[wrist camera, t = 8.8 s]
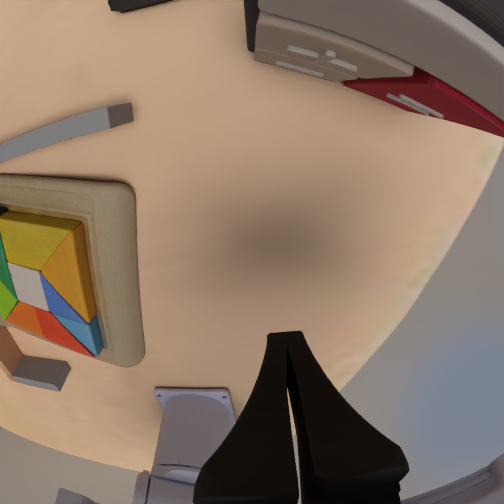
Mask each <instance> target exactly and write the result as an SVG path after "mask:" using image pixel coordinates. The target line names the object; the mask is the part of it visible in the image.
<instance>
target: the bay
mask: <svg viewBox="0 0 504 504" xmlns="http://www.w3.org/2000/svg"><path fill="white" fill-rule="evenodd" d="M132 121H133V116H132V108H131V103H128V104H121V105H115V106H108V107H104V108H100V109H97V110H93V111H90V112H86V113H83V114H80V115H77V116H73V117H70V118H67V119H64V120H61V121H58V122H55V123H52V124H50V125H47V126H44V127H41V128H39V129H36V130H33V131H31V132H28V133H26V134H23V135H21V136H18V137H16V138H13V139H11V140H9V141H6V142H4V143H2V144H0V163H1V162H4V161H6V160H9V159H11V158H14V157H17V156H19V155H22V154H25V153H28V152H31V151H33V150H36V149H39V148H42V147H45V146H48V145H52V144H55V143H58V142H61V141H65V140H68V139H71V138H75V137H78V136H82V135H86V134H89V133H93V132H97V131H101V130H105V129H109V128H113V127H116V126H119V125H122V124H125V123H129V122H132ZM0 367H1V368H2V369H3V371H4V372H5V374H6V375H7V376H8V378H9V379H10V380H11V381H15V382H19V383H23V384H27V385H31V386H35V387H40V388H44V389H49V390H54V391H59V392H60V391H61V389H62V386H63V384H64V382H65V380H66V378H67V376H68V374H69V372H70V370H71V368H70V367H69V365H68V363H67V362H65V361H57V360H50V359H43V358H36V357H30V356H24V355H23V354H22V353H21V351H20V350H19V348H18V346H17V345H16V343H15V342H14V340H13V338H12V337H11V335H10V334H9V332H8V330H7V328H6V327H5V326H0Z"/></svg>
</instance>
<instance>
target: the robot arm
mask: <svg viewBox="0 0 504 504" xmlns="http://www.w3.org/2000/svg"><path fill="white" fill-rule="evenodd" d="M287 387H288V392H289V397H290V402H291V408H292V413H293V418H294V423H295V428H296V435H297V444H298V456H299V470H300V484H301V485H300V486H301V504H504V454H502V455H500V456H499V457H497V458H496V459H495V460H494V461H492V462H491V463H490V464H489V465H488V466H486V467H484V468H482V469H480V470H478V471H476V472H474V473H472V474H470V475H468V476H465V477H463V478H461V479H459V480H456V481H454V482H452V483H449V484H447V485H444V486H442V487H439V488H437V489H434V490H431V491H428V492H426V493H423V494H420V495H417V496H414V497H411V498H408V499H405V500H401V501H400V497H399V492H400V490H401V489H400V485H399V481H401V480H402V479H403V478H404V477H405V476H406V474H407V473H408V472H409V465H408V462H407V460H406V457H405V456H404V453H403V451H402V449H401V448H400V446H398V445H397V444H395V443H394V442H392V441H391V440H390V439H388V438H387V437H386V436H384V435H383V434H381V433H380V432H379V431H378V430H376V429H375V428H374V427H373V426H372V425H370V424H369V423H368V422H367V421H366V420H365V419H364V418H362V416H361V415H360V414H358V413H357V412H356V411H355V410H354V409H353V408H352V406H351V405H350V404H349V403H348V402H347V401H346V400H345V399H344V398H343V397H342V395H341V394H340V393H339V392H338V391H337V389H336V388H335V387H334V385H333V384H332V383H331V381H330V380H329V379H328V377H327V376H326V374H325V373H324V371H323V370H322V368H321V367H320V365H319V364H318V362H317V360H316V359H315V357H314V355H313V354H312V352H311V350H310V348H309V346H308V344H307V342H306V340H305V337H304V335H303V332H301V331H290V332H277V333H269V334H268V335H267V346H266V351H265V356H264V360H263V363H262V366H261V369H260V373H259V376H258V378H257V381H256V383H255V386H254V388H253V391H252V393H251V395H250V397H249V399H248V401H247V403H246V405H245V407H244V409H243V411H242V413H241V414H240V416H239V418H238V420H237V421H236V419H235V415H234V411H233V407H232V403H231V399H230V395H229V391H228V390H226V389H171V388H155V389H154V394H155V396H156V398H157V400H158V402H159V403H160V405H161V407H162V409H163V411H164V412H163V417H162V422H161V427H160V432H159V437H158V442H157V447H156V452H155V458H154V463H153V466H152V470H151V473H150V471H147V470H143V472H141V473H139V474H138V476H137V481H136V486H135V491H134V496H133V502H132V504H297V503H298V499H299V488H298V477H297V471H296V463H295V456H294V447H293V441H292V440H293V439H292V431H291V423H290V414H289V405H288V397H287ZM149 473H150V474H149ZM55 504H99V503H95V502H94V501H93V500H91V499H90V498H88V497H86V496H83V495H81V494H78V493H74V492H72V491H69V490H66V489H63V488H59V491H58V495H57V498H56V502H55Z"/></svg>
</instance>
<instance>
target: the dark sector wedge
mask: <svg viewBox="0 0 504 504" xmlns="http://www.w3.org/2000/svg"><path fill="white" fill-rule="evenodd" d="M168 1H172V0H108V4H109V6H110V8H111V11H120V12H121V13H124V12H129V11H133V10H137V9H141V8H145V7H149V6H153V5H157V4H161V3H164V2H168Z"/></svg>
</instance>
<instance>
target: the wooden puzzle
mask: <svg viewBox="0 0 504 504" xmlns="http://www.w3.org/2000/svg"><path fill="white" fill-rule="evenodd" d="M0 326H11V327H14V328H17V329H19V330H21V331H24V332H26V333H28V334H31V335H33V336H36V337H38V338H40V339H43V340H45V341H48V342H51V343H53V344H56V345H58V346H61V347H64V348H66V349H69V350H72V351H74V352H77V353H80V354H83V355H86V356H89V357H92V358H95V359H98V360H101V361H104V362H107V363H111V364H114V365H117V366H121V367H133V366H136V365H137V364H139V363H140V362H141V361H142V359H143V357H144V355H145V343H144V334H143V325H142V314H141V303H140V290H139V275H138V255H137V221H136V196H135V193H134V191H133V190H132V188H131V187H129V186H127V185H126V184H122V183H113V182H94V181H84V180H73V179H62V178H50V177H38V176H24V175H10V174H0Z"/></svg>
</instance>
